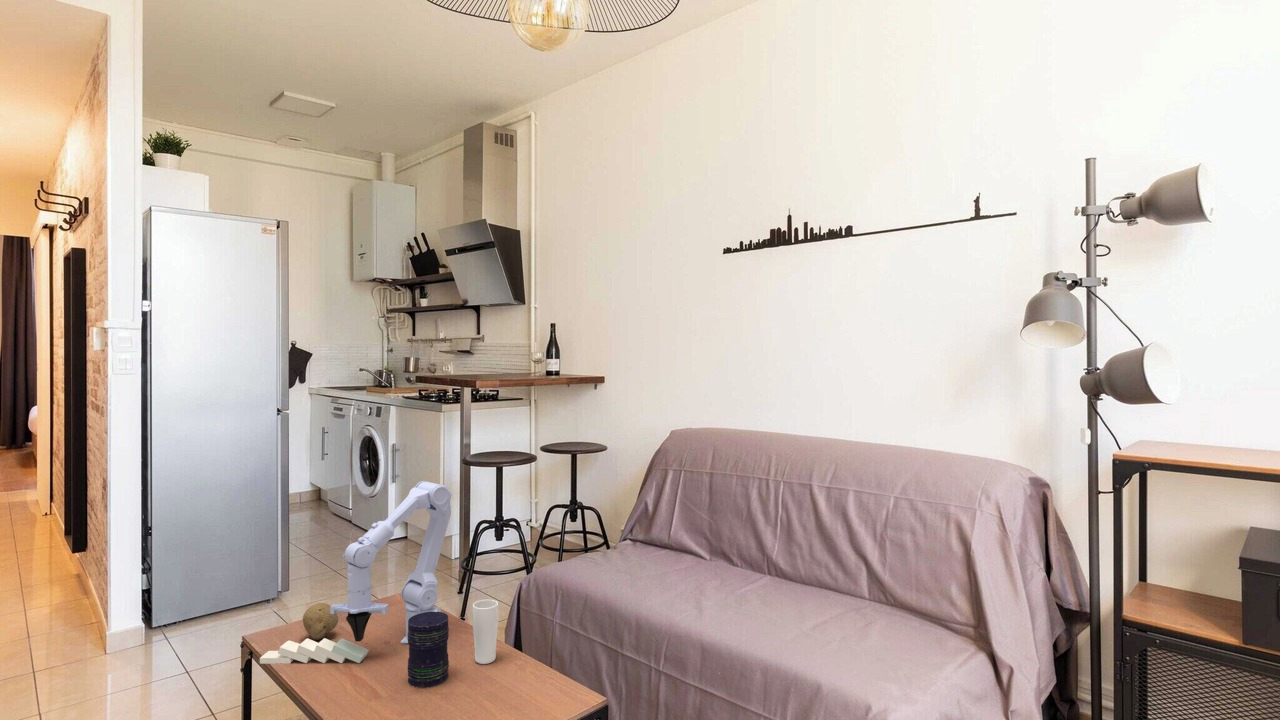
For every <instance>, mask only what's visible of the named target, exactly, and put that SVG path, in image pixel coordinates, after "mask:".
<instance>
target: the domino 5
mask: <svg viewBox="0 0 1280 720" xmlns="http://www.w3.org/2000/svg"><path fill="white" fill-rule="evenodd" d="M335 643H336V644H335V645H334V646H333V649H332V651H331V652H334V653H336V654H338V655H341V656H343V657H345V658H347V659H348V660H349V661H353V662H355V663H357V664H361V662H362V661H363V660H364V659H365V658H366V657H367V655H368V652H369V651H370V649H367V648H365V647H364V646H361V645H358V644H356V643H353V642H351V641H349V640H346V639H344V638H342V637H341V638H340V639H339V640H338V641H337V642H335Z"/></svg>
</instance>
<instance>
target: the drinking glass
mask: <svg viewBox="0 0 1280 720" xmlns="http://www.w3.org/2000/svg"><path fill="white" fill-rule="evenodd" d="M471 615H472V616H471V619H472V620H471V621H472V633H473V642H474V643H473V645H474V660H475V662H476V663H477V664H480V665H487V664H490V663H494V661H496V658H497V657H496V656H497V653H496V652H497V639H498V628H499V602H498V601H497V600H494V599H481V600H476V601H475V602H474V603H473V604H472V613H471Z"/></svg>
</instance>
